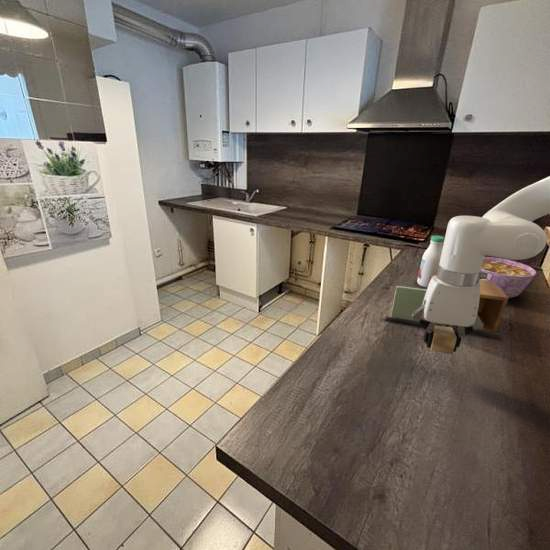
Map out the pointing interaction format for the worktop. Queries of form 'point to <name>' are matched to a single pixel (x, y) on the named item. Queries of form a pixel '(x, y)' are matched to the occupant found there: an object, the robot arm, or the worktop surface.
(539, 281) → the worktop surface
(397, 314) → the sliding door
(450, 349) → the block
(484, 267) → the bowl of food
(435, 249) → the milk bottle
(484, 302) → the cupboard
